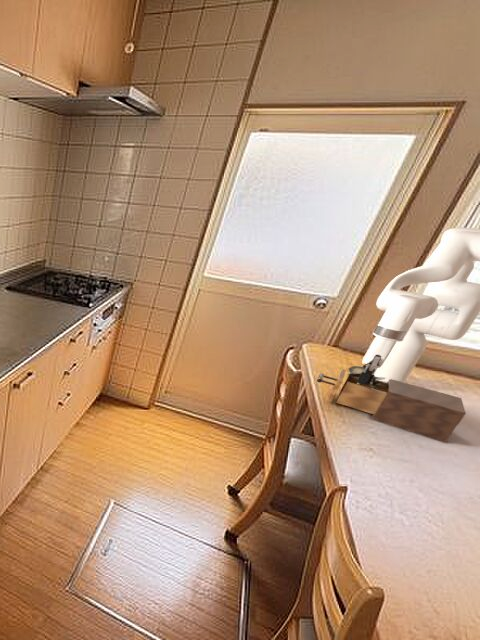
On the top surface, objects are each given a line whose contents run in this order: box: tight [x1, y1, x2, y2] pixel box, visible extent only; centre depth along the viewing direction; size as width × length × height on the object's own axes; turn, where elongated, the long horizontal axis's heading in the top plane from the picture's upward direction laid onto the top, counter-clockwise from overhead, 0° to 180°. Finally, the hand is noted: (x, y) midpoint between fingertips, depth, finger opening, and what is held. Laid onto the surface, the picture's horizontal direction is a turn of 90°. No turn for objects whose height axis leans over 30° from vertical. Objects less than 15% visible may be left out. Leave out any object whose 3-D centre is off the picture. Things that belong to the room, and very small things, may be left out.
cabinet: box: [371, 379, 467, 443], centre depth 139 cm, size 18×15×11 cm
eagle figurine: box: [347, 365, 386, 389], centre depth 146 cm, size 8×7×9 cm
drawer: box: [316, 368, 388, 415], centre depth 149 cm, size 22×14×9 cm, turn 46°
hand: (363, 379), depth 146 cm, fingers closed on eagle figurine, 8 cm apart
